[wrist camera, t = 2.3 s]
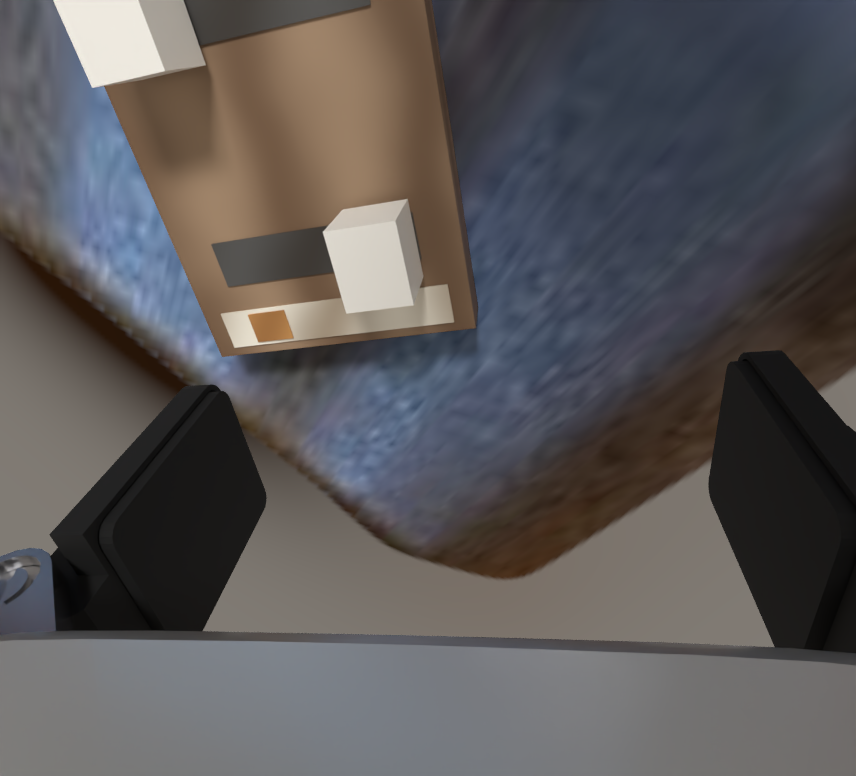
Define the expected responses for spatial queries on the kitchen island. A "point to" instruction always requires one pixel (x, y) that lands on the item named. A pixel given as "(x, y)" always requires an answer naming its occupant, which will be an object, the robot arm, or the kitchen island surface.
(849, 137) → the kitchen island surface
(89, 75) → the tab
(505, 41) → the kitchen island surface
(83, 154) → the kitchen island surface
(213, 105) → the switch board
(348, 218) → the tab
